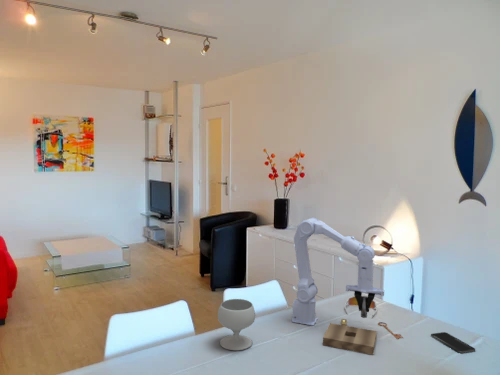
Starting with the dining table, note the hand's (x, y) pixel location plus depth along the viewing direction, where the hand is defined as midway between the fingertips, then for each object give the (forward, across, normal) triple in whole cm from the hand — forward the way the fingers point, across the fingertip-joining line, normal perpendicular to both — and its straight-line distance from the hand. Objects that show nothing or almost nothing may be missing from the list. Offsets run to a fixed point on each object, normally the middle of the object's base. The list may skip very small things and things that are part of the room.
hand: (364, 310), depth 156 cm
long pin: (+2, 0, 0) cm, 2 cm away
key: (+10, +10, +8) cm, 16 cm away
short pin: (+9, -8, +1) cm, 12 cm away
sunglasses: (+10, -4, +24) cm, 26 cm away
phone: (+10, +32, +5) cm, 34 cm away
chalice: (+10, -43, -28) cm, 52 cm away
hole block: (+9, -4, -9) cm, 14 cm away
